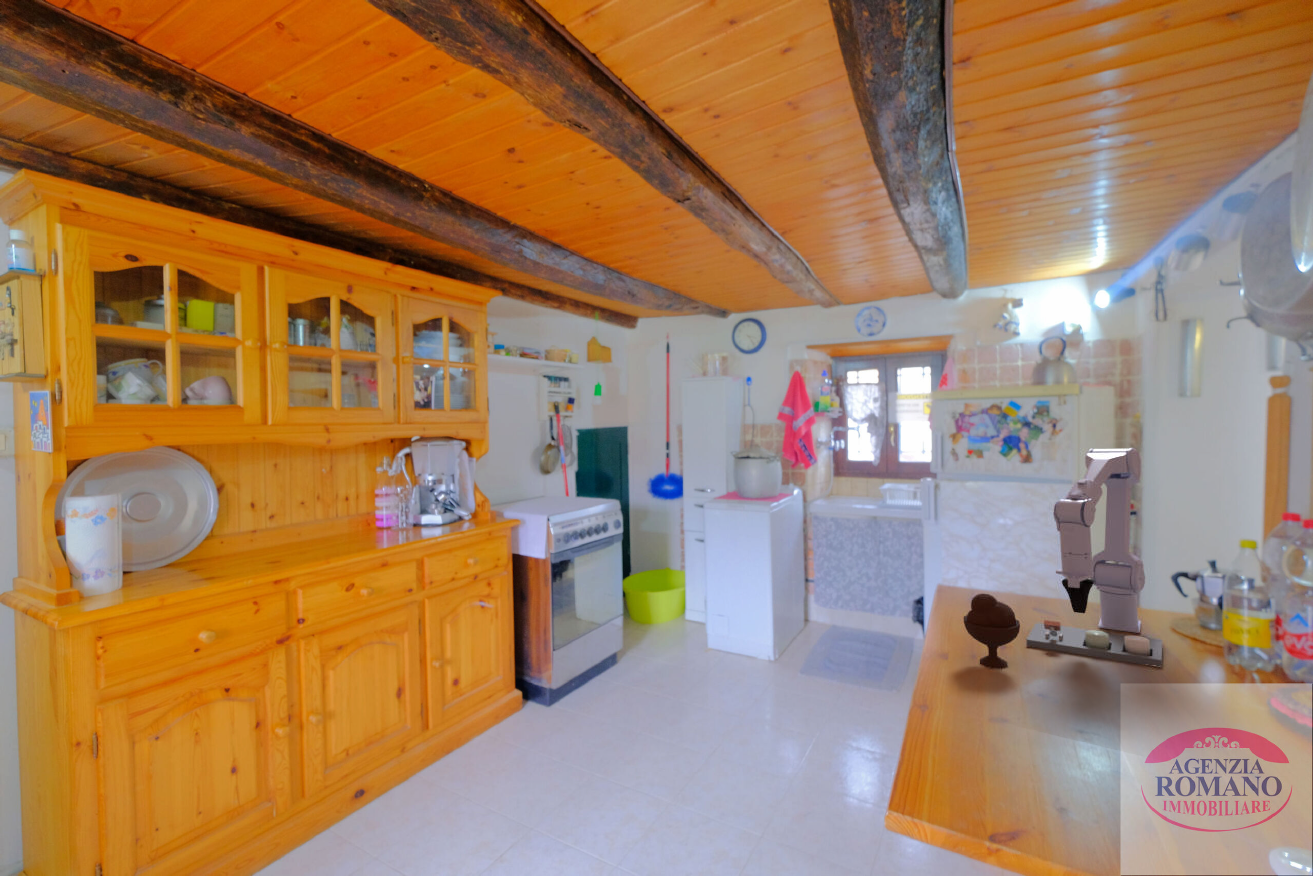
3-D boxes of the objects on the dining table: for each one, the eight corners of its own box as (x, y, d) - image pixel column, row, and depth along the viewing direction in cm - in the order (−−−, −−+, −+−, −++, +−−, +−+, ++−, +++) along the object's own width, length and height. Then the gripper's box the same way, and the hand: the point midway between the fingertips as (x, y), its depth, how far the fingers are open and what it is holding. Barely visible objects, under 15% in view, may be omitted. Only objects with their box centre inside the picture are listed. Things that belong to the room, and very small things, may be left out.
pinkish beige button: (1125, 647, 131) (1124, 634, 131) (1150, 650, 128) (1149, 637, 128) (1124, 653, 128) (1123, 640, 128) (1149, 656, 125) (1149, 643, 125)
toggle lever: (1046, 630, 139) (1044, 619, 137) (1061, 632, 137) (1060, 622, 135) (1045, 635, 138) (1043, 624, 136) (1061, 637, 136) (1059, 626, 134)
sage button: (1086, 641, 135) (1085, 629, 135) (1109, 644, 133) (1108, 632, 133) (1084, 647, 132) (1084, 634, 132) (1108, 650, 130) (1107, 637, 129)
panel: (1036, 628, 149) (1035, 618, 149) (1162, 646, 133) (1161, 635, 133) (1026, 645, 138) (1026, 635, 138) (1162, 667, 122) (1161, 655, 122)
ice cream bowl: (965, 670, 127) (962, 600, 127) (966, 652, 137) (962, 587, 136) (1024, 677, 122) (1020, 604, 122) (1019, 657, 132) (1016, 590, 131)
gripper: (1059, 545, 142) (1062, 601, 142) (1050, 557, 131) (1053, 618, 131) (1095, 547, 138) (1099, 605, 138) (1089, 560, 127) (1092, 623, 127)
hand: (1079, 612), depth 134 cm, fingers closed
